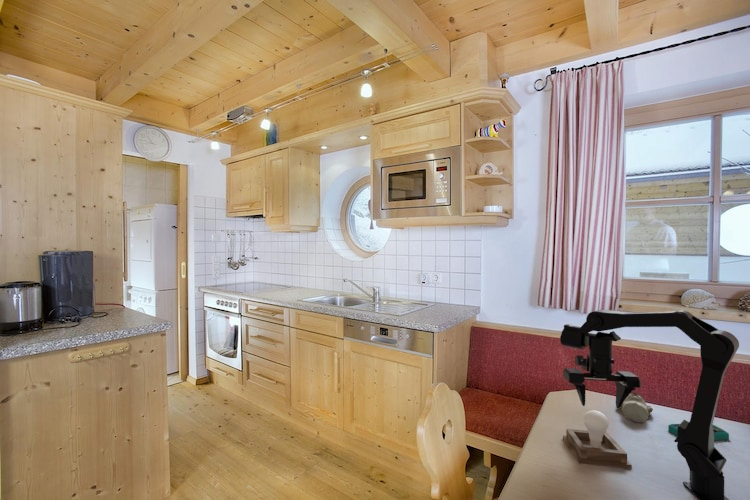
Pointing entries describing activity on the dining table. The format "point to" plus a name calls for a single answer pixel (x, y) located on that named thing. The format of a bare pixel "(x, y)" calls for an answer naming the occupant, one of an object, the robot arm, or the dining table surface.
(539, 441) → the dining table surface
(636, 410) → the ceramic sculpture
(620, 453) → the bulb holder
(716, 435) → the digital multimeter
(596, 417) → the lightbulb
